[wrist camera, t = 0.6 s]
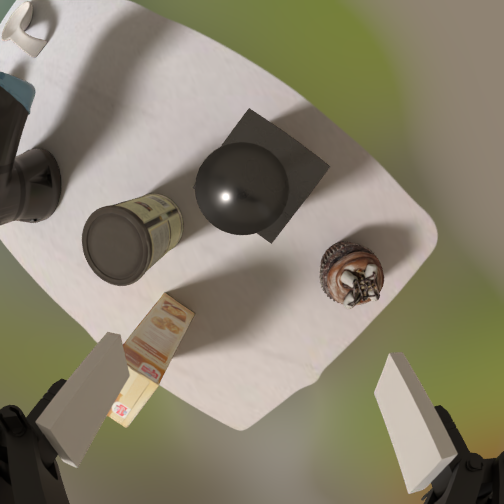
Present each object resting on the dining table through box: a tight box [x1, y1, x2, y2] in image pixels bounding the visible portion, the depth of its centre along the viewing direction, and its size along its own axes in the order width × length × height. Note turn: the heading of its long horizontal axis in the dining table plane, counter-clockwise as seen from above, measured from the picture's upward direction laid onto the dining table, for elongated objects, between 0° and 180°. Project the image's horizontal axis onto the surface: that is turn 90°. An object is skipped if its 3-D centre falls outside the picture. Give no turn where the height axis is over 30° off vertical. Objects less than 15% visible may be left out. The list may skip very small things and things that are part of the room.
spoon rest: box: [2, 1, 47, 58], centre depth 31 cm, size 24×12×7 cm, turn 41°
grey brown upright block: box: [193, 108, 330, 244], centre depth 35 cm, size 10×10×15 cm
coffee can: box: [82, 194, 183, 286], centre depth 39 cm, size 10×10×14 cm
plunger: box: [195, 142, 289, 235], centre depth 21 cm, size 7×7×20 cm
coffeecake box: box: [107, 293, 195, 428], centre depth 42 cm, size 15×7×20 cm, turn 145°
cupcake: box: [320, 242, 384, 309], centre depth 41 cm, size 10×10×10 cm
